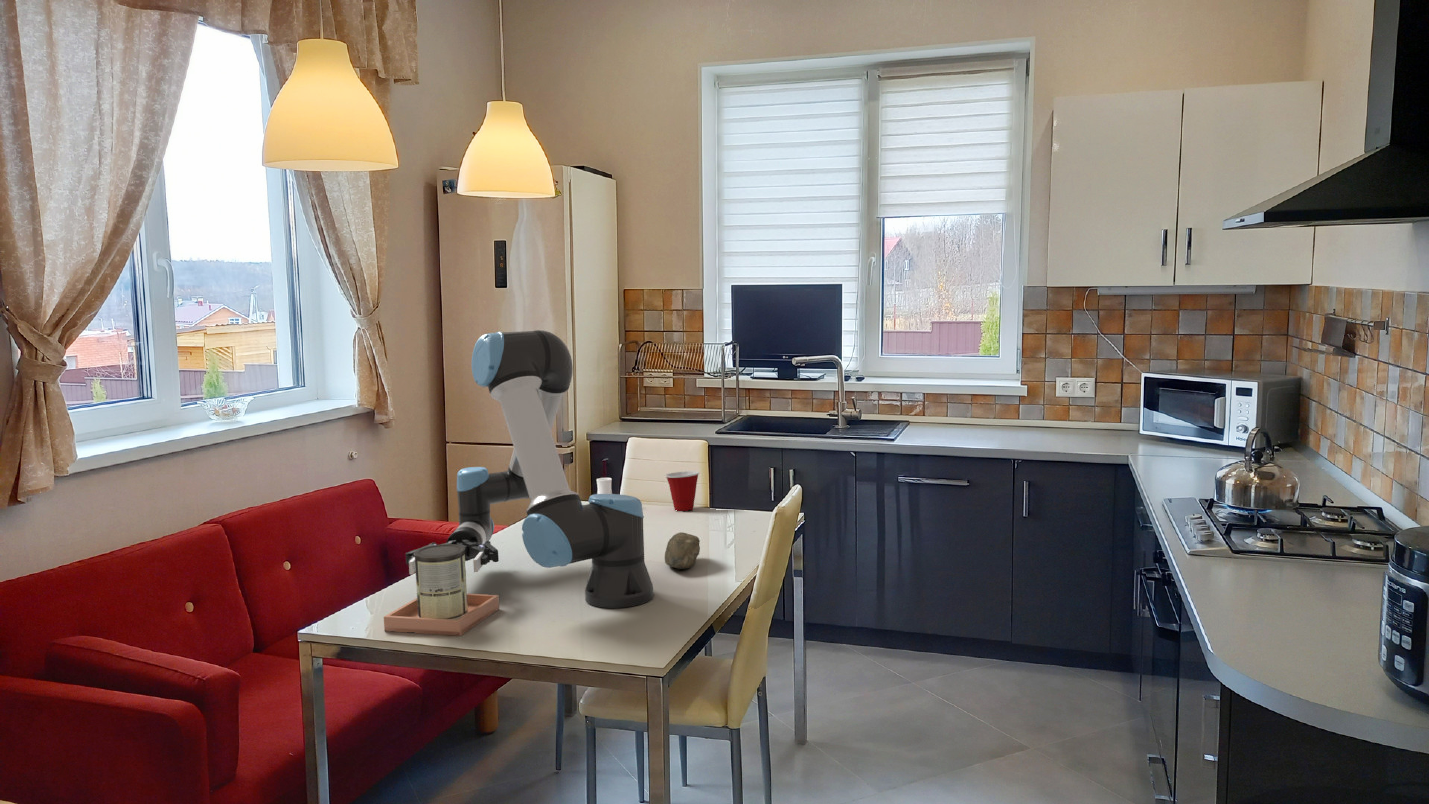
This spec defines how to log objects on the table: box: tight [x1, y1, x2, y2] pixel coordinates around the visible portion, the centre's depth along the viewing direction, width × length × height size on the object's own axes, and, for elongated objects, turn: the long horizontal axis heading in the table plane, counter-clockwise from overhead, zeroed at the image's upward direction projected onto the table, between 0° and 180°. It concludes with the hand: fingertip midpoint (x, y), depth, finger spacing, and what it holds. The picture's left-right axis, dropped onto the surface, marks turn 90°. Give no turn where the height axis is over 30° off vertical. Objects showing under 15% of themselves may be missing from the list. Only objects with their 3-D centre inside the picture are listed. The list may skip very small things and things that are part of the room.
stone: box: [664, 531, 701, 570], centre depth 235 cm, size 17×9×8 cm, turn 178°
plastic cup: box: [664, 470, 700, 512], centre depth 297 cm, size 11×11×12 cm
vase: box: [596, 477, 613, 494], centre depth 301 cm, size 8×8×10 cm
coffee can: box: [414, 543, 468, 620], centre depth 198 cm, size 10×10×14 cm
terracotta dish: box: [383, 593, 500, 637], centre depth 199 cm, size 17×17×3 cm
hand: (443, 567), depth 201 cm, fingers open, 13 cm apart
